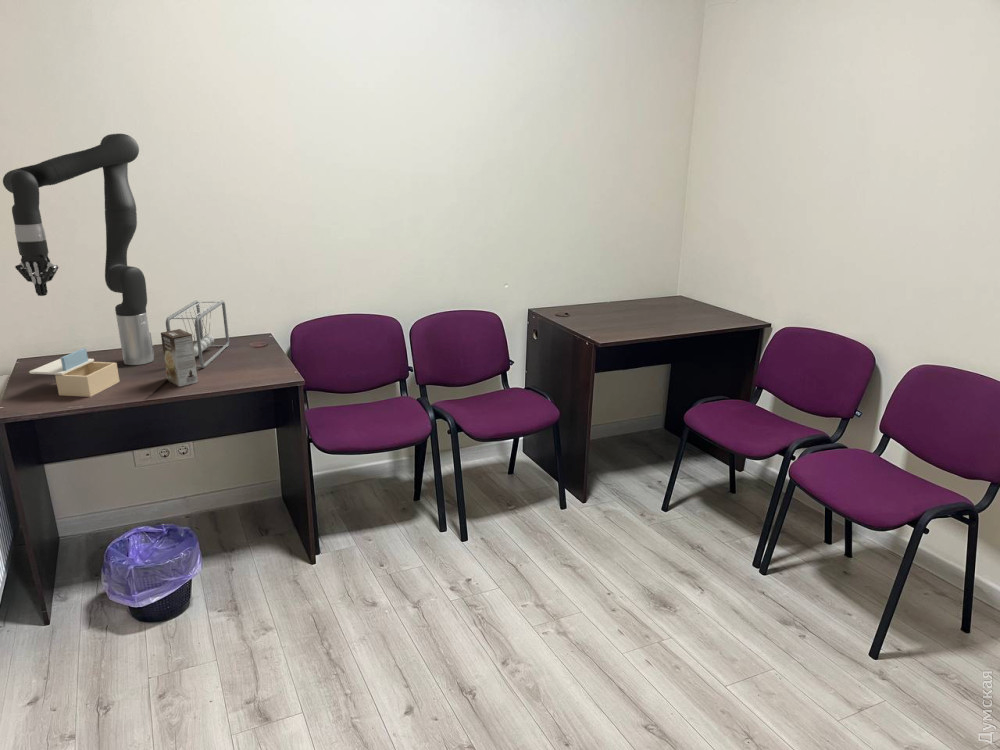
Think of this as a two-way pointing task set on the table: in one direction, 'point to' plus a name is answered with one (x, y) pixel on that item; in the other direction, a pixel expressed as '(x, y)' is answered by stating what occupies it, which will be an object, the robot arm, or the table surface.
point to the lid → (64, 364)
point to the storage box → (88, 379)
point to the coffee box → (179, 357)
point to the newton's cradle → (207, 339)
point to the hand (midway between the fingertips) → (42, 295)
